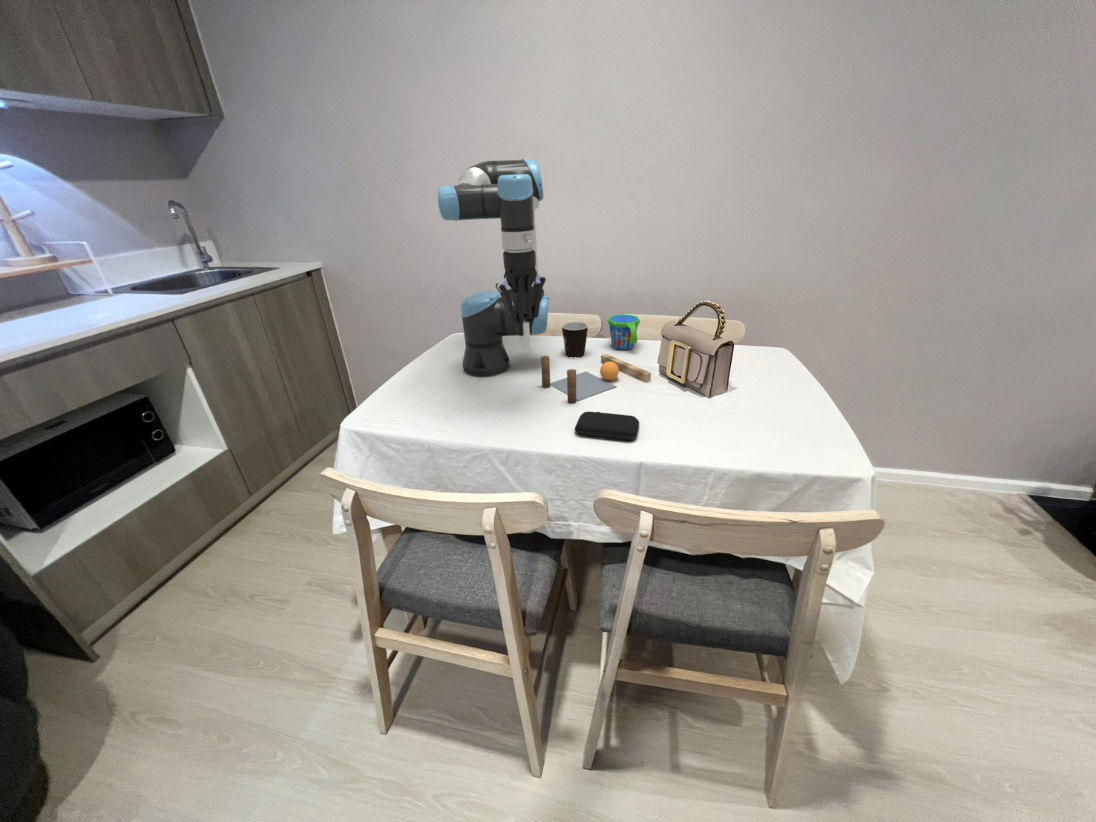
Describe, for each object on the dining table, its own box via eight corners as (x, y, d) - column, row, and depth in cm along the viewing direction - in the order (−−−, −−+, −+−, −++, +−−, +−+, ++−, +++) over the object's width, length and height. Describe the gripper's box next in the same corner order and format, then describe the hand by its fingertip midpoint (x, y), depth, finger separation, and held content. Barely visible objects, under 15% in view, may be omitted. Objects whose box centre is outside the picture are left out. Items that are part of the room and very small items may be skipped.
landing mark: (548, 384, 135) (548, 383, 135) (586, 371, 142) (586, 371, 142) (578, 400, 125) (578, 400, 125) (616, 387, 132) (616, 386, 132)
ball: (612, 372, 140) (597, 380, 138) (609, 356, 137) (594, 363, 135) (623, 377, 136) (609, 385, 134) (621, 361, 133) (606, 368, 131)
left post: (540, 386, 134) (539, 357, 130) (547, 383, 136) (546, 355, 131) (545, 388, 133) (543, 359, 128) (552, 386, 134) (550, 357, 130)
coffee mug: (586, 359, 151) (586, 330, 146) (560, 358, 153) (559, 329, 148) (590, 347, 161) (590, 319, 156) (566, 346, 163) (565, 318, 158)
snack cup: (601, 341, 166) (601, 313, 161) (628, 338, 168) (629, 310, 163) (616, 356, 153) (617, 326, 148) (645, 353, 154) (647, 323, 150)
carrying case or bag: (640, 422, 115) (582, 416, 118) (640, 411, 113) (582, 406, 117) (635, 445, 106) (573, 438, 109) (636, 433, 104) (572, 427, 108)
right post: (565, 401, 125) (565, 370, 121) (572, 398, 126) (572, 368, 122) (571, 404, 124) (570, 373, 119) (578, 401, 125) (578, 371, 120)
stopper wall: (600, 362, 149) (601, 355, 147) (605, 360, 150) (605, 353, 148) (645, 382, 134) (646, 374, 133) (650, 380, 135) (651, 372, 134)
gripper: (502, 255, 100) (510, 357, 111) (551, 248, 106) (554, 344, 117) (486, 251, 105) (495, 348, 117) (533, 244, 112) (538, 337, 123)
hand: (525, 346), depth 117 cm, fingers closed
